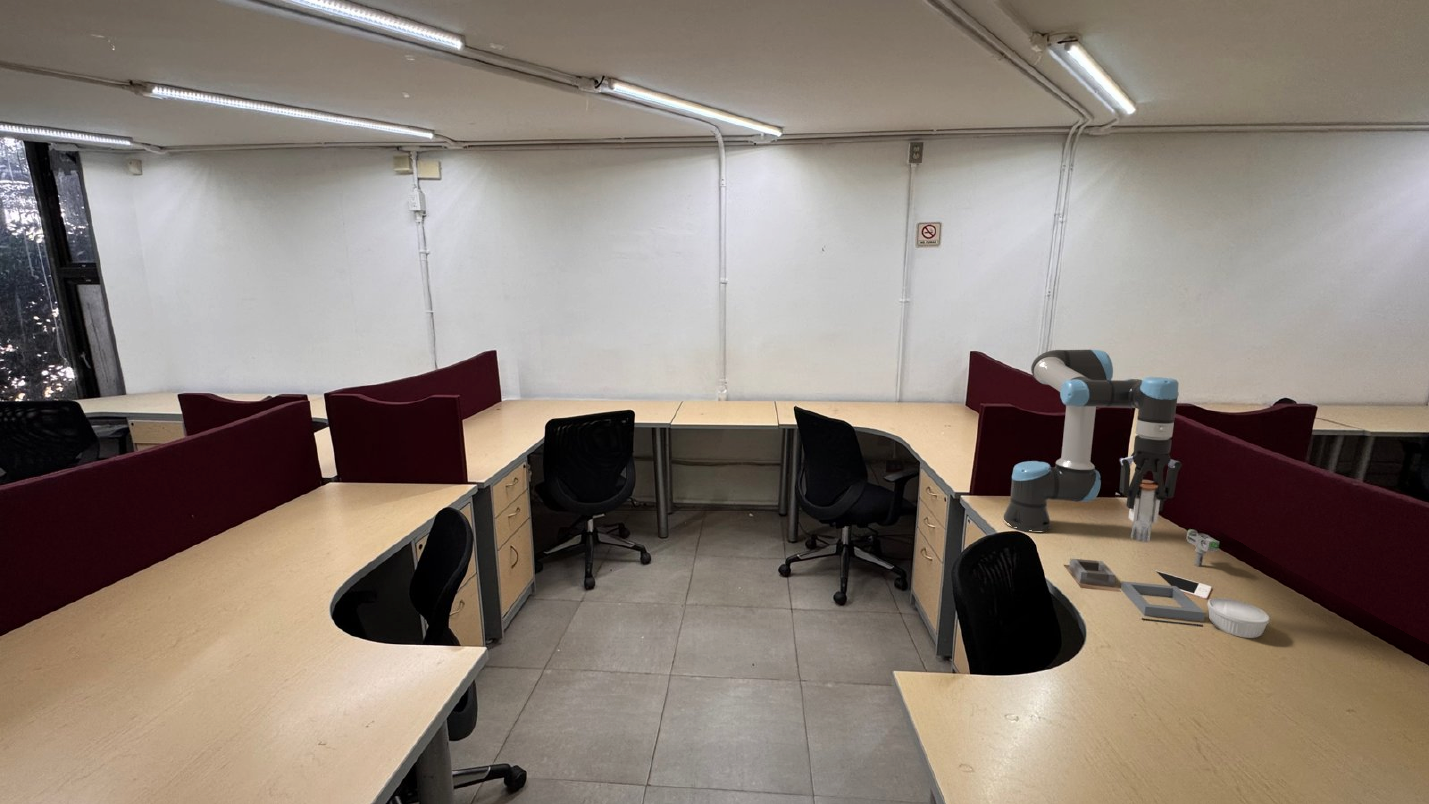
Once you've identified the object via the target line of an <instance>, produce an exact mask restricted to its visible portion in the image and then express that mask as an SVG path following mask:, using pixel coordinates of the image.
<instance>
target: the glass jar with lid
mask: <svg viewBox="0 0 1429 804" xmlns="http://www.w3.org/2000/svg"><path fill="white" fill-rule="evenodd" d="M1158 488H1159V484H1157V483H1155V482H1154V480H1149V479H1143V480H1142V483H1140V488H1139V490H1138V493H1137V496H1136V497H1137V498H1139V506H1138V514H1137V522H1133V521H1132V524H1131V534H1130V538H1131V539H1133V540H1135V541H1137V542H1142V543H1149V542H1150V540H1151V539H1150V538H1151V532H1152V531H1151V530H1152V524H1153V522H1152V517H1153V510H1154V502H1155V497H1156V496H1155V494H1156V489H1158Z"/></svg>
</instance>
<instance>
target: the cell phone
mask: <svg viewBox="0 0 1429 804" xmlns="http://www.w3.org/2000/svg"><path fill="white" fill-rule="evenodd" d="M1154 571H1155V572H1156V573H1157V574H1158V575H1159V576H1160V577H1161V579H1163V580H1164V581H1165V582H1166V583H1168V585H1169V586H1177V587H1178V588H1179V589H1180V590H1181V591H1182V592H1183V593H1184V594H1185V595H1186V594H1187V595H1189V596H1193V597H1196V598H1200V599H1203V600H1207V599H1208V597H1209V595H1210V593H1211V591H1212V586H1211V585H1207V584H1205V583H1200V582H1197V581H1194V580H1190V579H1187V578H1184V577H1180V576H1176V575H1174V574H1170V573H1167V572H1162V571H1160V570H1159V571H1158V570H1154Z"/></svg>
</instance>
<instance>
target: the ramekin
mask: <svg viewBox="0 0 1429 804" xmlns="http://www.w3.org/2000/svg"><path fill="white" fill-rule="evenodd" d="M1206 605H1207V607H1208V608H1207V609H1208V617H1209V618H1208V619H1209V621H1210V622H1211V623H1212V625H1213V626H1214V627H1216V628H1217V629H1218V630H1220V631H1222V632H1224V633H1226V634H1229V635H1231V636H1236V637H1239V638H1244V639H1245V638H1246V639H1256V638H1259V637H1260V636H1262V635H1263V633H1264V631H1265V629H1266V627H1267V625H1268V624H1269V623H1270V616H1269V615H1268V614H1267V612H1265V611H1264V610H1262V609H1260V608H1259V607H1257V606H1255V605H1252V604H1250V603H1247V602H1244V601H1241V600H1239V599H1238V600H1236V599H1232V598H1227V597H1213V598H1210V599H1208V600H1207V604H1206Z"/></svg>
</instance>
